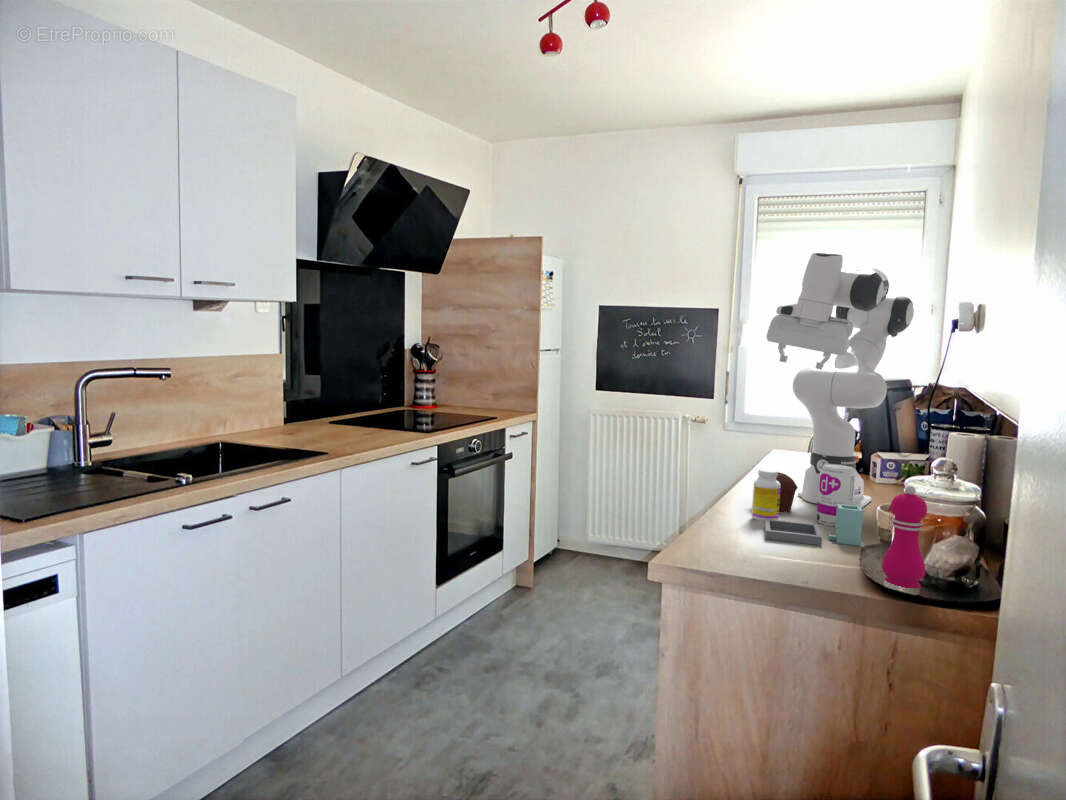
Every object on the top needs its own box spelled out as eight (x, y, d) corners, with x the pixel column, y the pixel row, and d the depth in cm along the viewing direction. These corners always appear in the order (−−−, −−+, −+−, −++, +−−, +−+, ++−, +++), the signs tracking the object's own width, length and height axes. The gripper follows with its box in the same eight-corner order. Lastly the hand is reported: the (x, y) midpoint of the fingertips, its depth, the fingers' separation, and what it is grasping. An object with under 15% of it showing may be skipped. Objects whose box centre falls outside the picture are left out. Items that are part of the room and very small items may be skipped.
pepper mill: (872, 584, 140) (881, 481, 138) (908, 584, 140) (917, 482, 139) (893, 597, 133) (903, 489, 131) (931, 598, 133) (941, 490, 132)
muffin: (743, 505, 205) (746, 469, 204) (774, 503, 209) (777, 468, 208) (773, 515, 194) (775, 478, 193) (805, 512, 198) (808, 476, 197)
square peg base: (829, 537, 173) (830, 519, 173) (861, 541, 171) (862, 522, 171) (832, 545, 166) (833, 526, 166) (865, 549, 165) (867, 529, 164)
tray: (764, 528, 179) (765, 518, 178) (816, 534, 175) (817, 524, 175) (765, 541, 167) (765, 530, 167) (821, 547, 164) (822, 536, 164)
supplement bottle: (779, 524, 184) (783, 473, 183) (752, 521, 186) (756, 471, 184) (776, 517, 191) (780, 469, 190) (750, 515, 192) (753, 467, 191)
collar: (827, 536, 172) (830, 503, 172) (857, 539, 170) (860, 506, 170) (829, 542, 168) (832, 507, 167) (860, 545, 166) (863, 510, 165)
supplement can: (835, 529, 181) (840, 470, 180) (809, 521, 188) (813, 464, 187) (857, 527, 185) (862, 468, 183) (831, 519, 192) (835, 462, 191)
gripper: (857, 321, 187) (844, 374, 189) (778, 308, 198) (766, 358, 200) (852, 319, 182) (838, 374, 184) (771, 306, 193) (759, 357, 195)
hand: (800, 365), depth 192 cm, fingers open, 8 cm apart
